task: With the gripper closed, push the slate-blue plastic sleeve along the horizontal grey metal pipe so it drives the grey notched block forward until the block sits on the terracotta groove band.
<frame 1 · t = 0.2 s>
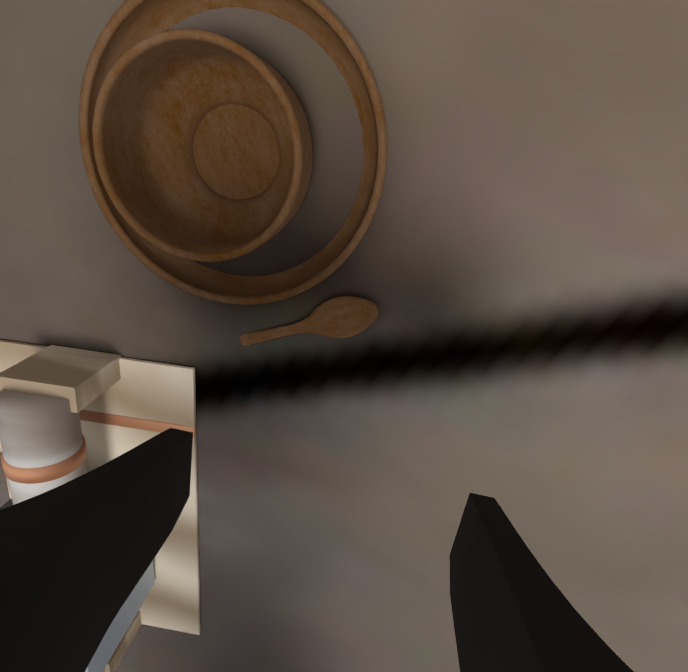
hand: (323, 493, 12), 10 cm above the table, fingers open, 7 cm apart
place setting: (335, 115, 19), on the table
sleeve: (64, 606, 25), point 4 cm above the table, slide at 0.0 cm
grey notched block: (54, 545, 23), point 4 cm above the table, slide at 0.0 cm
pipe rig: (102, 500, 27), on the table
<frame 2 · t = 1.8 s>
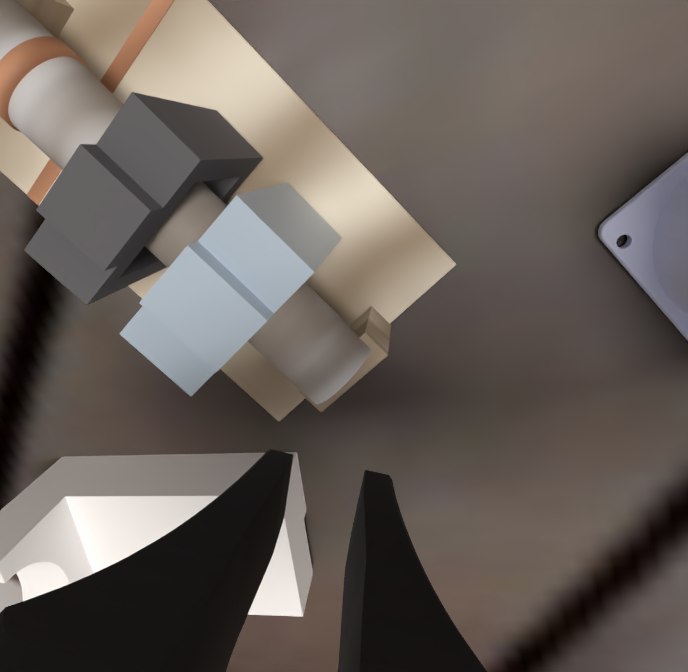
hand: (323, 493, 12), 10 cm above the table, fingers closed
bracket: (193, 504, 27), on the table
sleeve: (240, 282, 17), point 4 cm above the table, slide at 0.0 cm
grey notched block: (152, 199, 16), point 4 cm above the table, slide at 0.0 cm
pipe rig: (207, 199, 20), on the table
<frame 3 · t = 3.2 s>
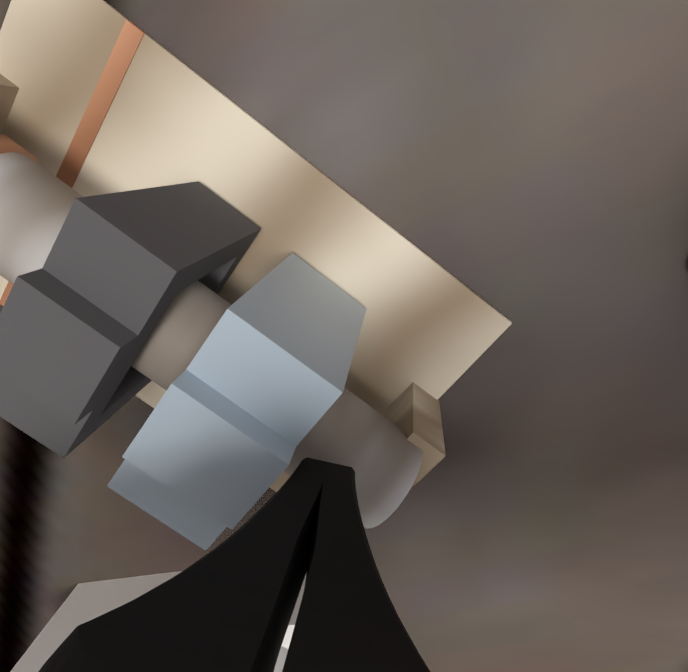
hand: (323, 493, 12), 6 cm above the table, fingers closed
bracket: (229, 617, 23), on the table
sleeve: (250, 390, 14), point 4 cm above the table, slide at 0.1 cm, touching gripper
grey notched block: (132, 307, 13), point 4 cm above the table, slide at 0.0 cm
pipe rig: (203, 283, 17), on the table
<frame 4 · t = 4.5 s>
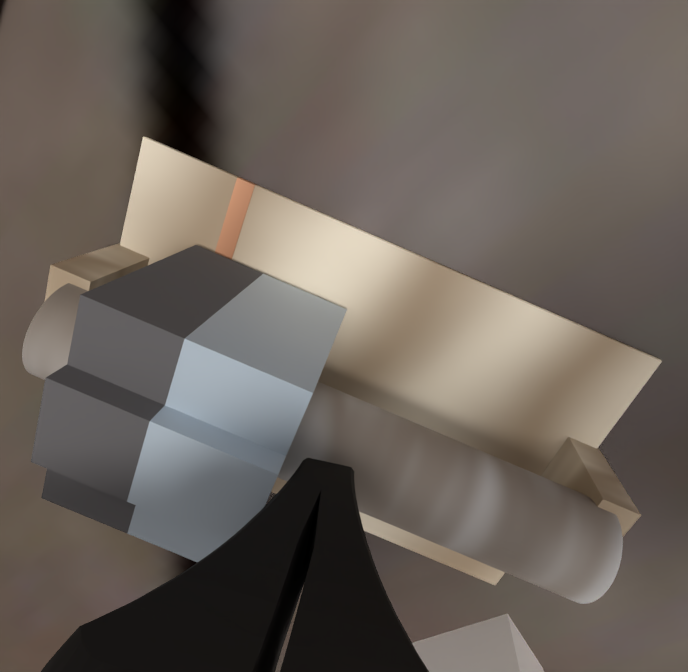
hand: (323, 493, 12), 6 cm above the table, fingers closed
sleeve: (246, 414, 14), point 4 cm above the table, slide at 6.0 cm, touching gripper, grey notched block
grey notched block: (159, 377, 14), point 4 cm above the table, slide at 4.7 cm, touching sleeve
pipe rig: (342, 387, 18), on the table
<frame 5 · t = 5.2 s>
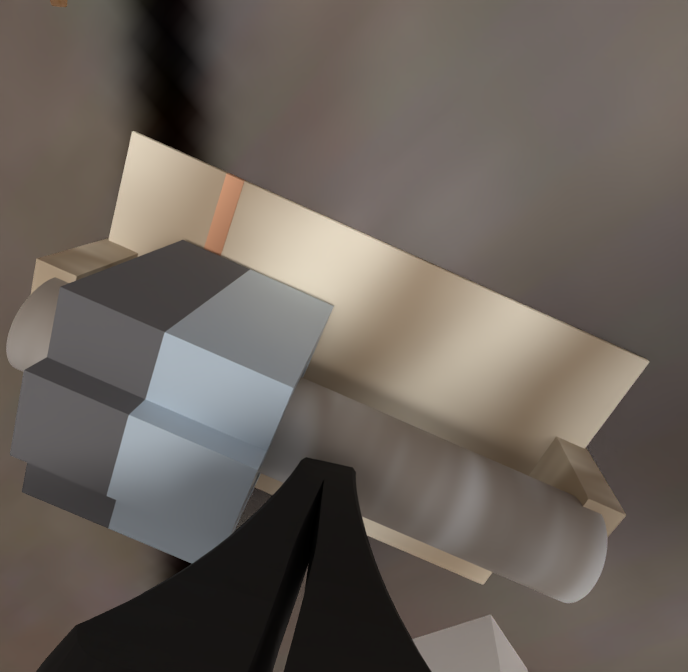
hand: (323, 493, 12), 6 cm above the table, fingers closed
sleeve: (230, 409, 14), point 4 cm above the table, slide at 6.1 cm, touching grey notched block
grey notched block: (143, 372, 14), point 4 cm above the table, slide at 4.8 cm, touching sleeve
pipe rig: (331, 385, 18), on the table
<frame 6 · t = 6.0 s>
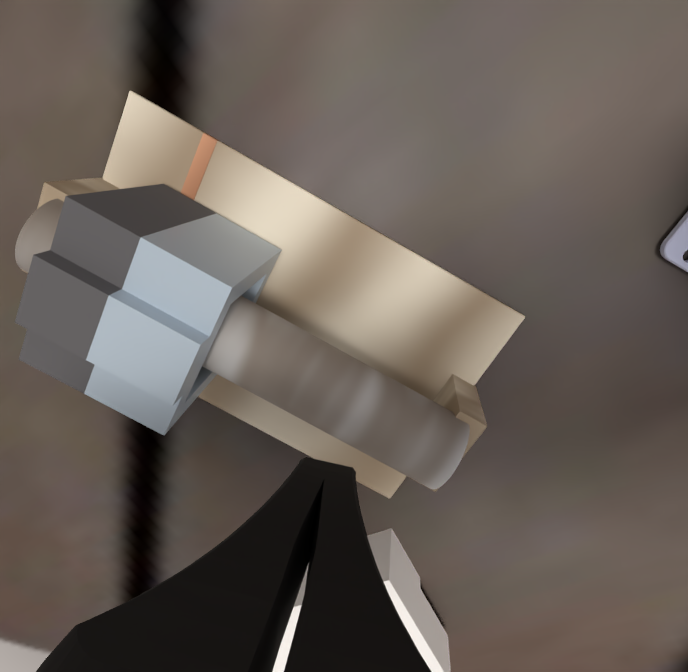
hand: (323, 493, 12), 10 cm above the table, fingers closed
bracket: (316, 600, 28), on the table
sleeve: (188, 317, 18), point 4 cm above the table, slide at 6.1 cm, touching grey notched block
grey notched block: (122, 281, 18), point 4 cm above the table, slide at 4.8 cm, touching sleeve
pipe rig: (276, 318, 21), on the table
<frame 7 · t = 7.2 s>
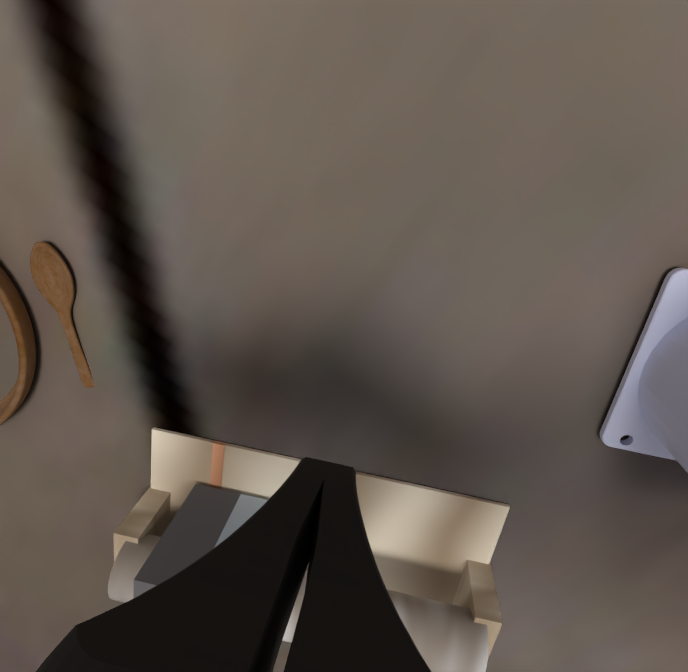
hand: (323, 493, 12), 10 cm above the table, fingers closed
sleeve: (243, 599, 23), point 4 cm above the table, slide at 6.1 cm, touching grey notched block
grey notched block: (187, 585, 23), point 4 cm above the table, slide at 4.8 cm, touching sleeve
pipe rig: (312, 548, 26), on the table
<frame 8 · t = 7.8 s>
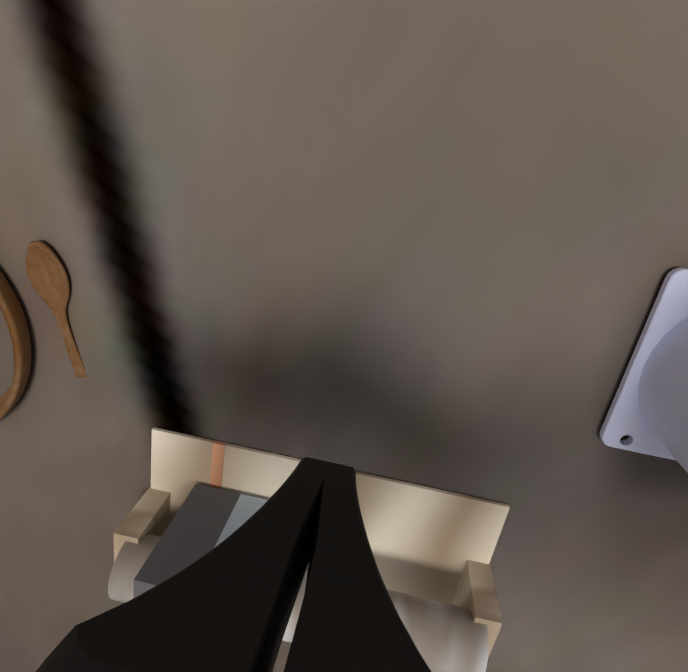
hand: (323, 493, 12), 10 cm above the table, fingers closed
sleeve: (243, 599, 23), point 4 cm above the table, slide at 6.1 cm, touching grey notched block
grey notched block: (187, 585, 23), point 4 cm above the table, slide at 4.8 cm, touching sleeve
pipe rig: (312, 548, 26), on the table
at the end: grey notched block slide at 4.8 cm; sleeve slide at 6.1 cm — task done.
